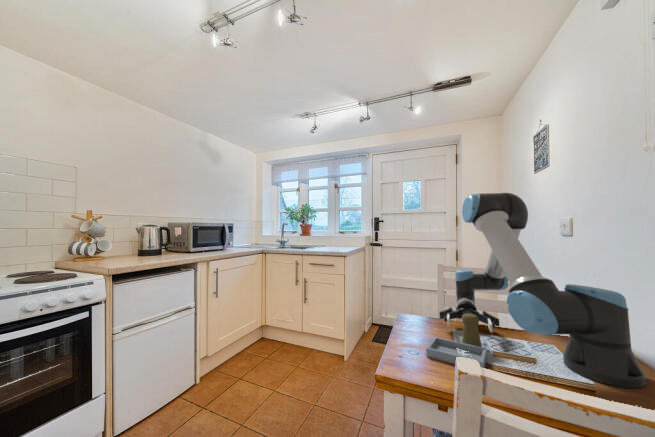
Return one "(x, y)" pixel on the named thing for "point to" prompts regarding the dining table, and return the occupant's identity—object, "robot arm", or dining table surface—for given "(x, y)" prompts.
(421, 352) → the dining table surface
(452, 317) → the robot arm
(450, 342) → the trough
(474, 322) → the cork
